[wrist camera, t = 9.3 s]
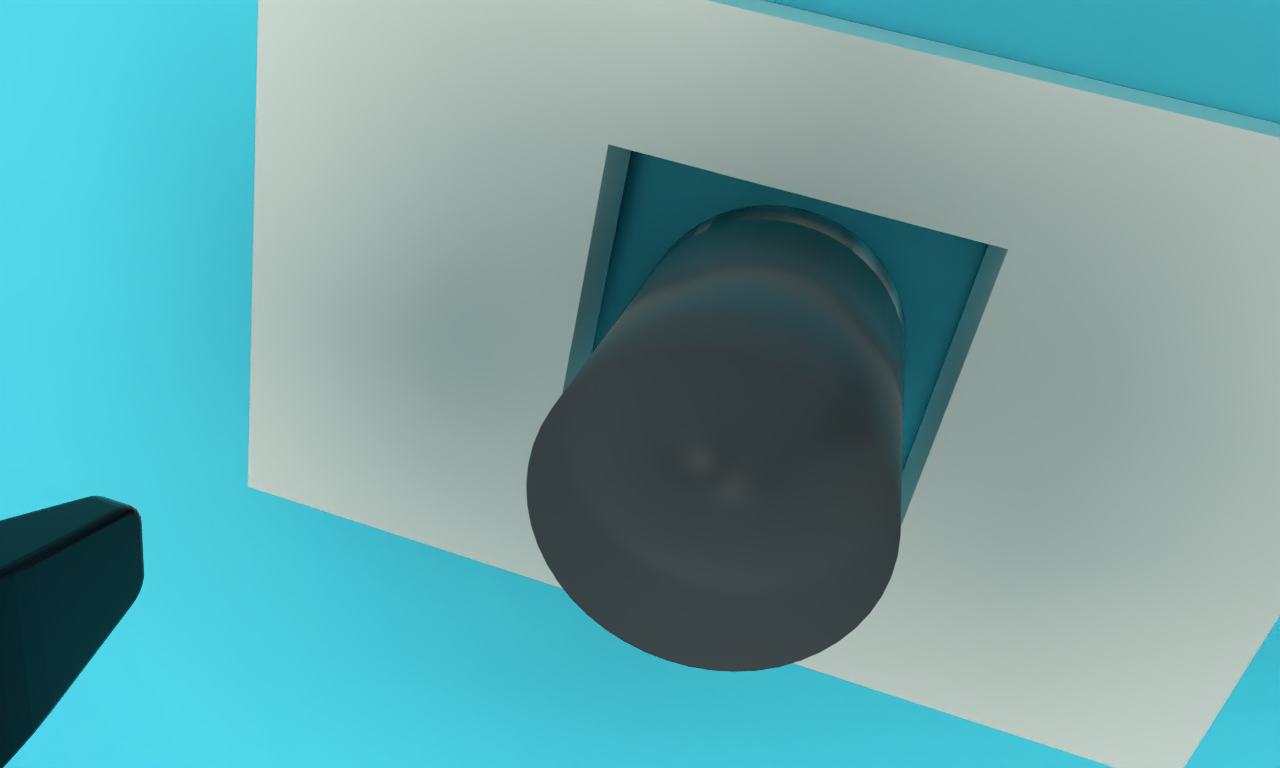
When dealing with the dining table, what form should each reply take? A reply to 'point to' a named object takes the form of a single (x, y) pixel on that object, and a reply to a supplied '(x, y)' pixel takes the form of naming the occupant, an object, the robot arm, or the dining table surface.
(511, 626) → the dining table surface
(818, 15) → the panel with square recess
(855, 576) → the lens
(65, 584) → the robot arm
